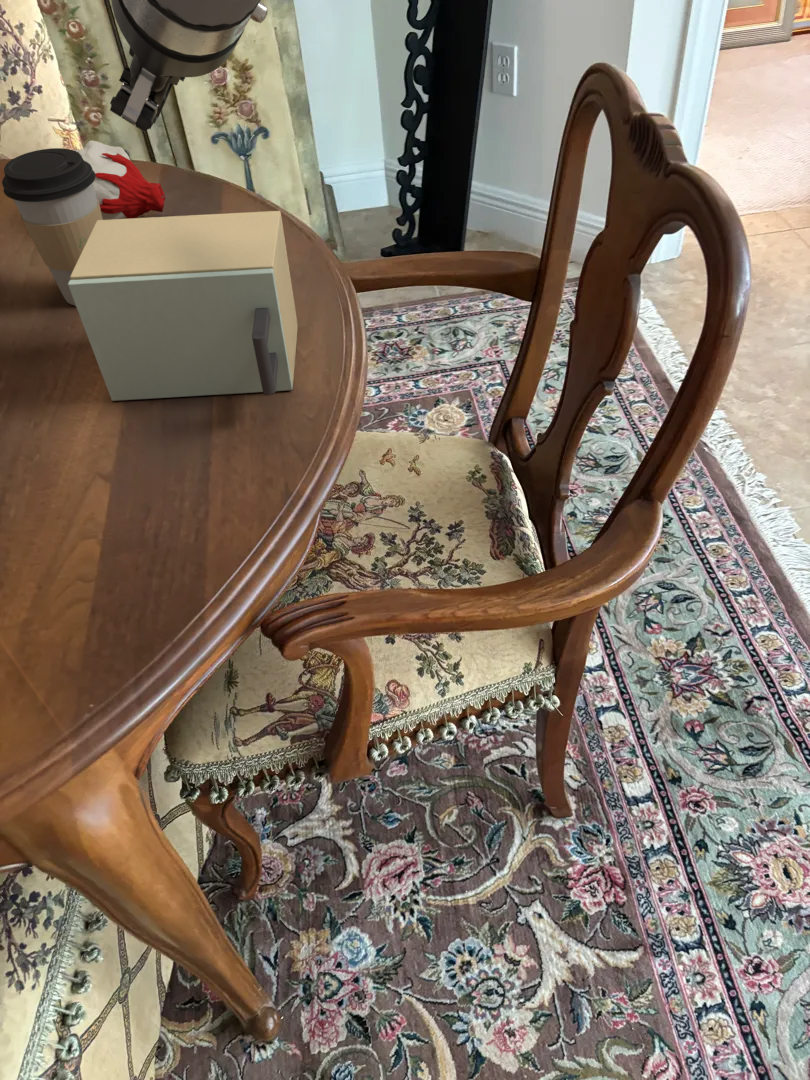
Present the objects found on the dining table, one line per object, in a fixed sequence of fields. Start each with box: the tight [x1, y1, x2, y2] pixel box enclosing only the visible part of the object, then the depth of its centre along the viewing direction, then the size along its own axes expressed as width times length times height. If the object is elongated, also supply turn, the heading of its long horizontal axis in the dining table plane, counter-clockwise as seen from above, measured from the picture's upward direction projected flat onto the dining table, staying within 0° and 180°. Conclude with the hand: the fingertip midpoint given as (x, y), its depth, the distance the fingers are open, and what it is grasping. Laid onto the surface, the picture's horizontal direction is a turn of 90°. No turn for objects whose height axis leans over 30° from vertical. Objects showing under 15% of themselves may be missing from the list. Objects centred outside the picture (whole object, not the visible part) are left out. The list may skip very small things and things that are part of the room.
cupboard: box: [70, 210, 299, 386], centre depth 78 cm, size 11×18×13 cm, turn 93°
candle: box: [73, 140, 166, 220], centre depth 102 cm, size 9×11×15 cm
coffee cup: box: [1, 147, 103, 307], centre depth 87 cm, size 9×9×15 cm
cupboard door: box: [68, 269, 294, 402], centre depth 72 cm, size 6×18×13 cm, turn 93°
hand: (146, 99), depth 65 cm, fingers closed
